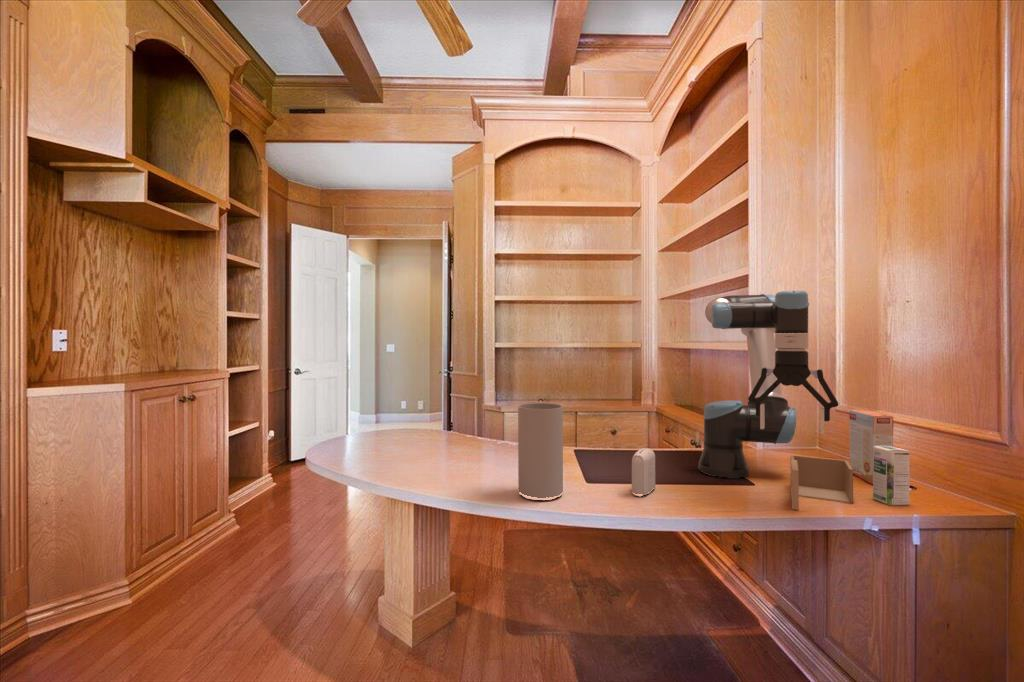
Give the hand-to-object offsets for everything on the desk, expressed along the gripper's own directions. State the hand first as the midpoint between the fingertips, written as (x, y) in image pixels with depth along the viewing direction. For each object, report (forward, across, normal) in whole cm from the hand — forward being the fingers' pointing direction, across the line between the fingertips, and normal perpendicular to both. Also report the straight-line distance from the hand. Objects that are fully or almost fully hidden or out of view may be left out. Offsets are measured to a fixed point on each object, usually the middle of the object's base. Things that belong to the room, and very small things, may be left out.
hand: (791, 431), depth 124 cm
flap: (+19, +1, +2) cm, 19 cm away
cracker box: (+20, +19, +40) cm, 49 cm away
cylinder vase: (+20, -59, -29) cm, 69 cm away
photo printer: (+20, -36, -11) cm, 42 cm away
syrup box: (+20, +22, +17) cm, 34 cm away
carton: (+20, +6, +15) cm, 25 cm away
